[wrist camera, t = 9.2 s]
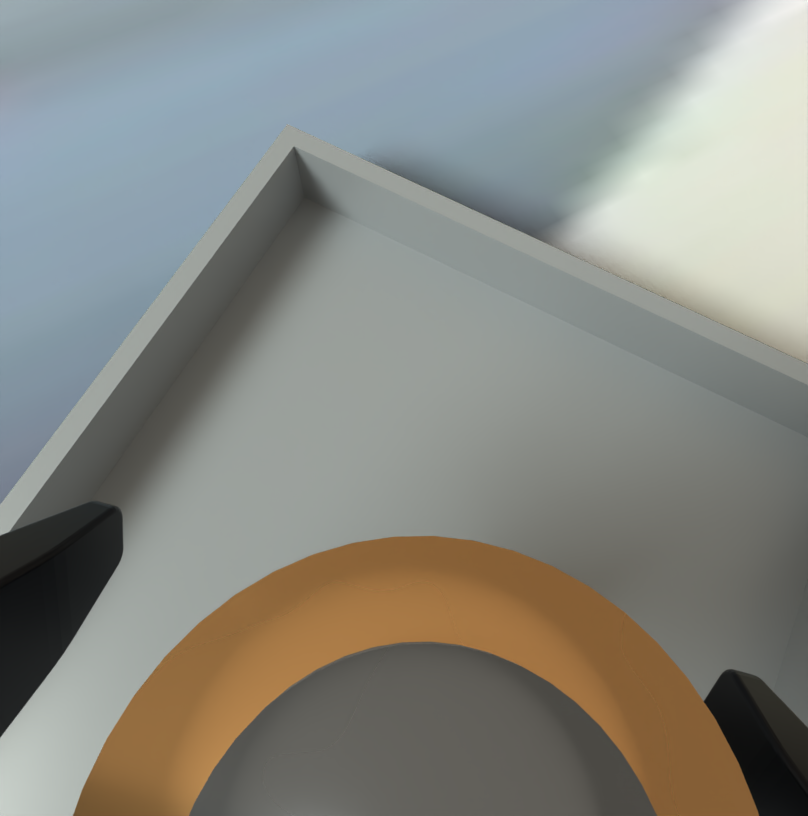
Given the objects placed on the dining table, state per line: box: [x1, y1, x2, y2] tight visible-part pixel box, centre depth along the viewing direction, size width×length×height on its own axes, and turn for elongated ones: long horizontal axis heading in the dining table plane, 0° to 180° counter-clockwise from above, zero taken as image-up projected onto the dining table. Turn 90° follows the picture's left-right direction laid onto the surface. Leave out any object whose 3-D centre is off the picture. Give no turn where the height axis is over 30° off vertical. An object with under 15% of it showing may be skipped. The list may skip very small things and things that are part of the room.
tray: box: [0, 124, 808, 816], centre depth 15 cm, size 24×20×3 cm
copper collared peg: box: [73, 536, 759, 816], centre depth 10 cm, size 4×4×13 cm
